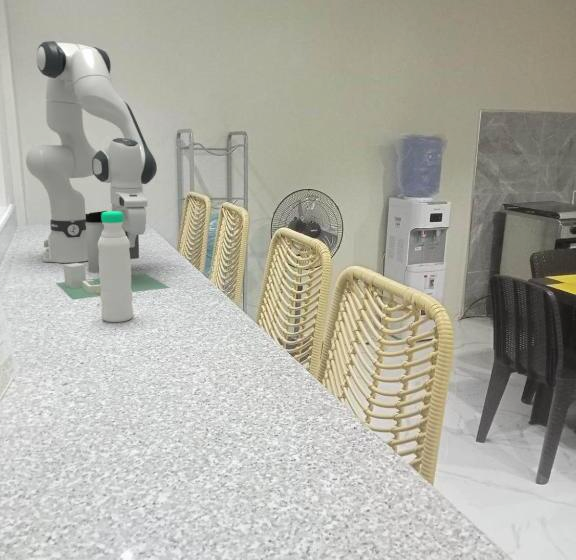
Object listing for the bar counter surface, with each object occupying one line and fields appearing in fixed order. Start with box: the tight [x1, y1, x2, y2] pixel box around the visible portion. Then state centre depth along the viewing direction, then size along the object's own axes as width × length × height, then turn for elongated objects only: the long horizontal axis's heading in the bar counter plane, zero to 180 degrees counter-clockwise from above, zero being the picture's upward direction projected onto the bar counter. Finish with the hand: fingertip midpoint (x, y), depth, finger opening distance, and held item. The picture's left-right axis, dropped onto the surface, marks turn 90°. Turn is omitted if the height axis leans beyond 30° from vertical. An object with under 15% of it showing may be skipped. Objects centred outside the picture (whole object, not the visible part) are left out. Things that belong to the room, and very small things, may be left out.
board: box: [55, 273, 171, 300], centre depth 159 cm, size 20×26×3 cm
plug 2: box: [124, 231, 140, 260], centre depth 165 cm, size 5×5×8 cm
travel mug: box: [85, 210, 107, 274], centre depth 175 cm, size 6×7×20 cm
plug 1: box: [63, 262, 87, 288], centre depth 157 cm, size 5×4×6 cm
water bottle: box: [98, 210, 134, 323], centre depth 130 cm, size 7×7×25 cm
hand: (128, 245), depth 165 cm, fingers closed on plug 2, 4 cm apart
